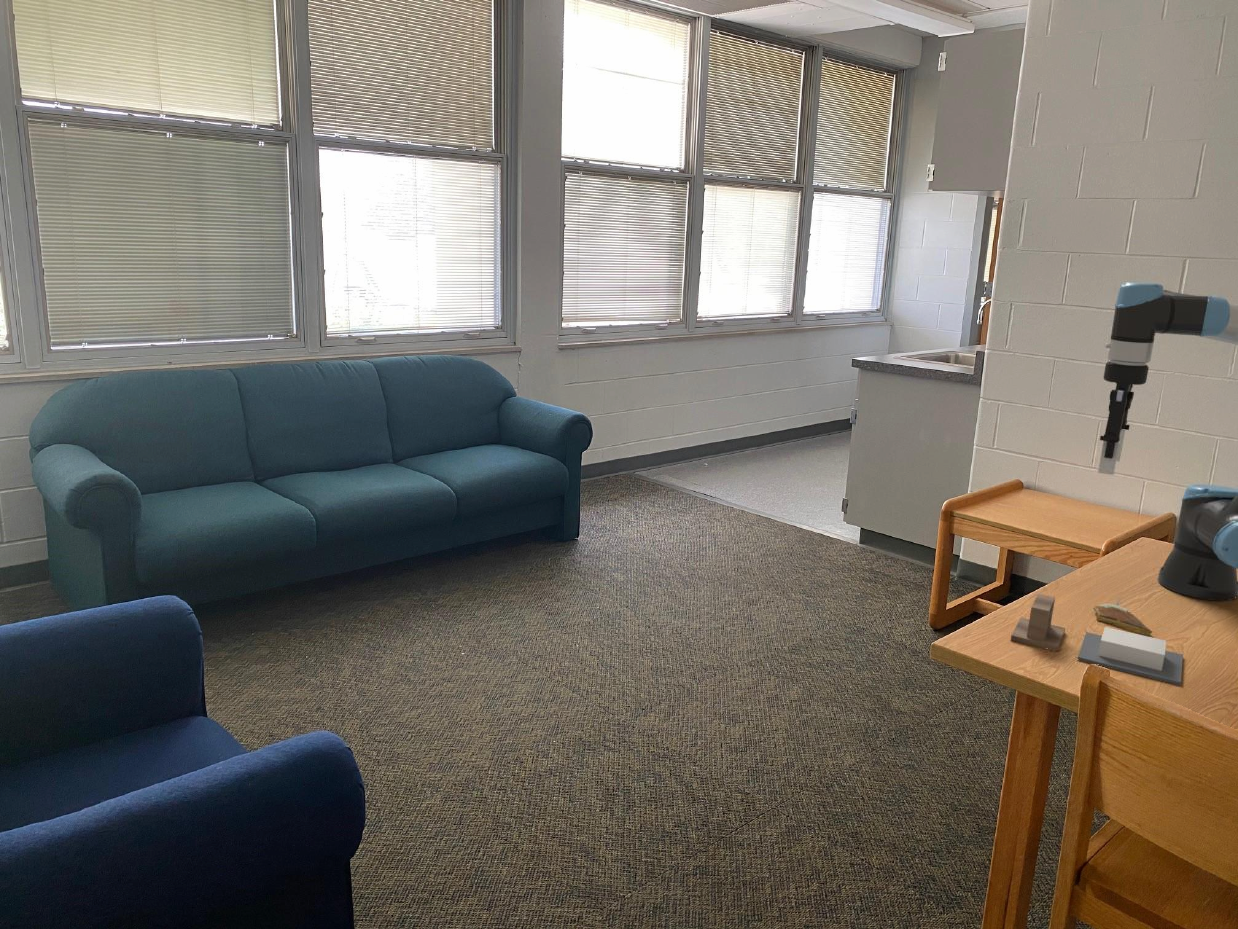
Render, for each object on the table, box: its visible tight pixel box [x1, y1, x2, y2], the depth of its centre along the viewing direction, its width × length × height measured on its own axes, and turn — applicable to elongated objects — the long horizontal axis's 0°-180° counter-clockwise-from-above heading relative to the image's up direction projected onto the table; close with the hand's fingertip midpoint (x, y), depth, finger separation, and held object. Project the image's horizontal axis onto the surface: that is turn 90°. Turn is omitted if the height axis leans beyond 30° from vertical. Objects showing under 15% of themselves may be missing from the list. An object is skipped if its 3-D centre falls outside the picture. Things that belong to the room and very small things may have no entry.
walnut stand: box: [1010, 593, 1066, 652], centre depth 175 cm, size 10×8×7 cm
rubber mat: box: [1077, 631, 1184, 686], centre depth 168 cm, size 16×13×1 cm
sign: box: [1099, 596, 1129, 612], centre depth 193 cm, size 5×1×15 cm
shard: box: [1092, 605, 1153, 637], centre depth 183 cm, size 11×8×2 cm
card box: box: [1098, 626, 1167, 671], centre depth 167 cm, size 10×7×3 cm
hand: (1109, 466), depth 188 cm, fingers open, 13 cm apart
